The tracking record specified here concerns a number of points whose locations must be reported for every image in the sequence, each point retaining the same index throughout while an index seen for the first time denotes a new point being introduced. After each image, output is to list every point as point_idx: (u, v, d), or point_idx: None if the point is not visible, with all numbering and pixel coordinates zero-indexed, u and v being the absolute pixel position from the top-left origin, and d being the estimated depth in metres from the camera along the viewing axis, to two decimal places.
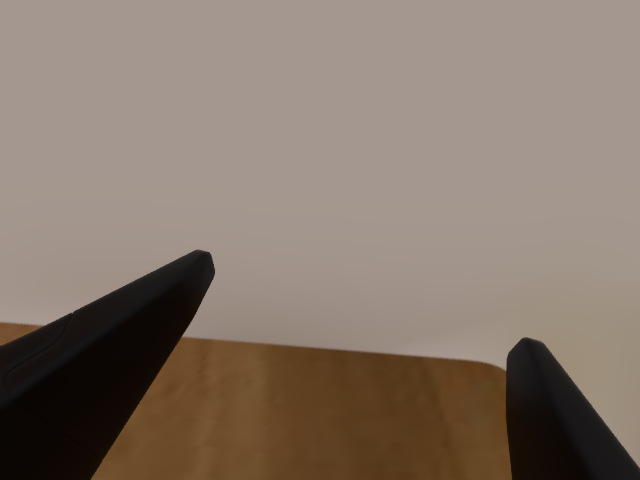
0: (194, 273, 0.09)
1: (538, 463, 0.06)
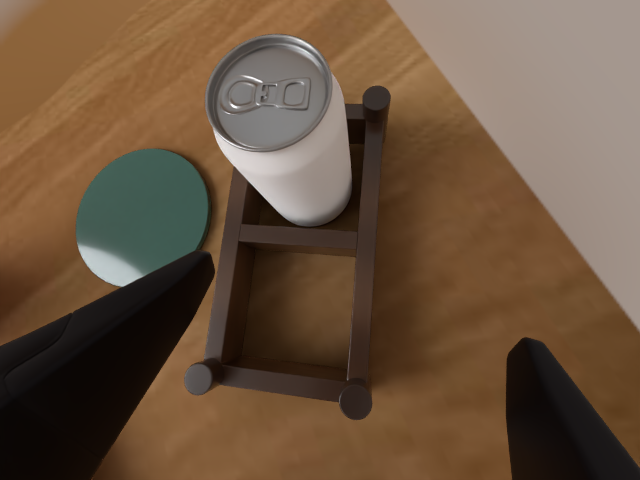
0: (194, 273, 0.09)
1: (538, 463, 0.06)
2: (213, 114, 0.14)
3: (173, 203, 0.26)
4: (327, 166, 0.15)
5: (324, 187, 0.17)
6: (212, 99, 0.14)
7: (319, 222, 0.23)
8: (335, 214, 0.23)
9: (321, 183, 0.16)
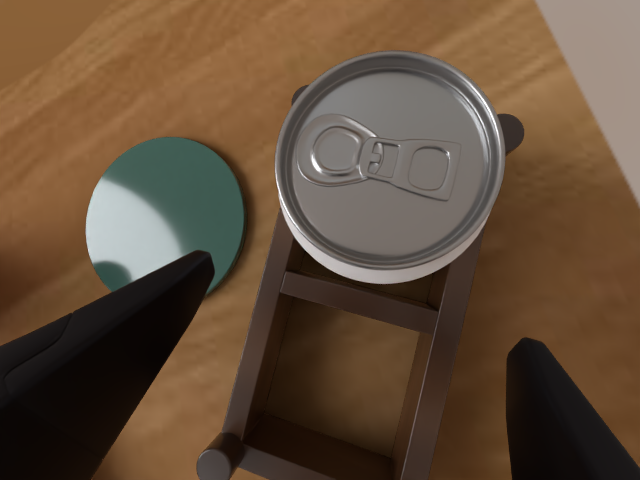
0: (194, 273, 0.09)
1: (538, 463, 0.06)
2: (285, 177, 0.08)
3: (202, 213, 0.21)
4: None
5: None
6: (286, 150, 0.08)
7: None
8: None
9: None
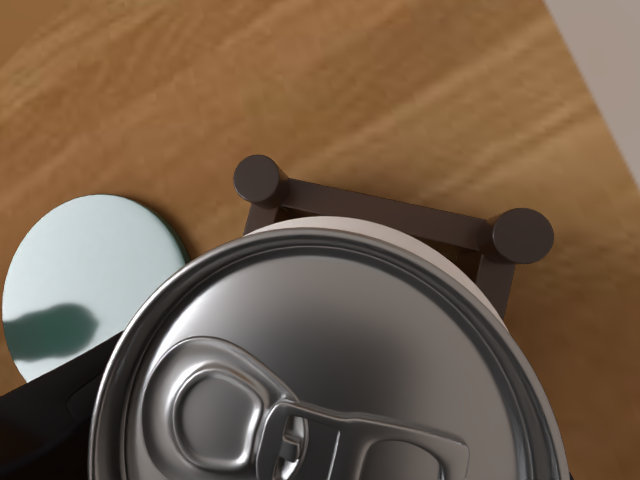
0: None
1: None
2: (120, 457, 0.04)
3: (139, 293, 0.17)
4: None
5: None
6: (124, 401, 0.04)
7: None
8: None
9: None
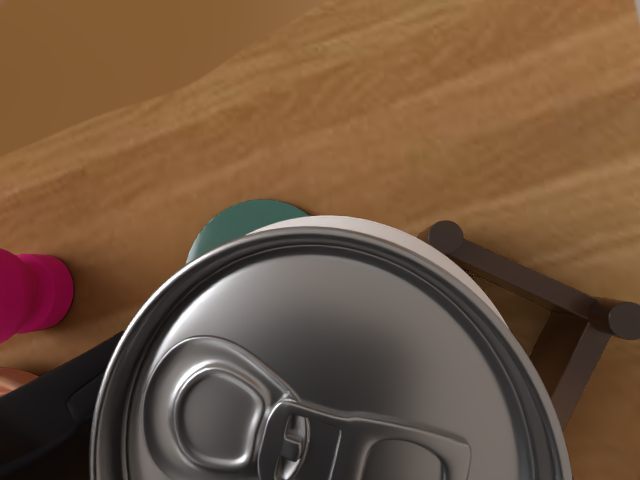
0: None
1: None
2: (121, 457, 0.04)
3: None
4: None
5: None
6: (125, 400, 0.04)
7: None
8: None
9: None
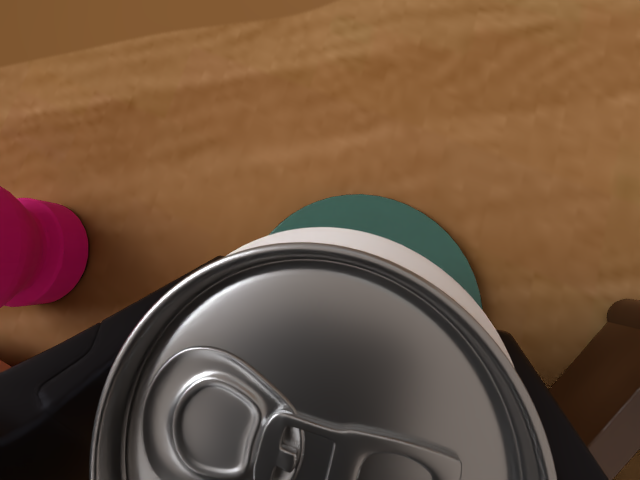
0: None
1: None
2: (121, 463, 0.04)
3: None
4: None
5: None
6: (125, 408, 0.04)
7: None
8: None
9: None
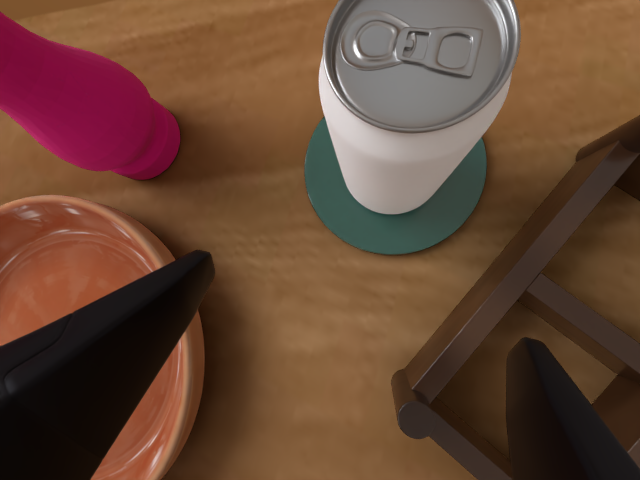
0: (194, 273, 0.09)
1: (538, 463, 0.06)
2: (330, 65, 0.10)
3: None
4: (459, 158, 0.11)
5: (436, 180, 0.13)
6: (331, 42, 0.10)
7: (397, 212, 0.19)
8: (418, 205, 0.19)
9: (438, 176, 0.13)
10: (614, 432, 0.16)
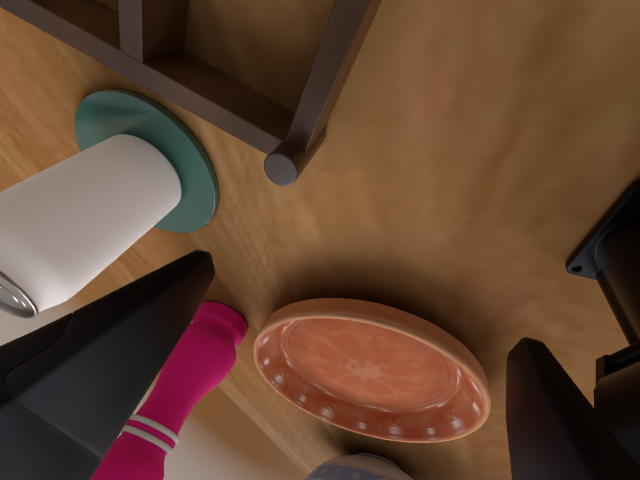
0: (194, 273, 0.09)
1: (538, 463, 0.06)
2: (33, 312, 0.17)
3: (130, 134, 0.22)
4: (38, 218, 0.16)
5: (81, 203, 0.17)
6: (25, 311, 0.18)
7: (164, 173, 0.22)
8: (150, 156, 0.21)
9: (70, 213, 0.17)
10: None
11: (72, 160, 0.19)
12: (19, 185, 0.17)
